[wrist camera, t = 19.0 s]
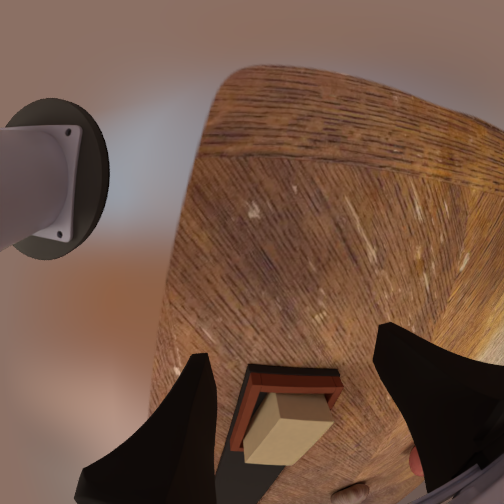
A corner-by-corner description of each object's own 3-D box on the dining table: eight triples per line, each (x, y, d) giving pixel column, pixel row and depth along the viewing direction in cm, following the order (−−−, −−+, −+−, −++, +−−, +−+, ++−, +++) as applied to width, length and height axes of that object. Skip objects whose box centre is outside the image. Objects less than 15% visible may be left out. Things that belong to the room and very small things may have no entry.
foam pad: (242, 431, 24) (244, 463, 20) (273, 383, 22) (280, 418, 18) (286, 436, 25) (292, 465, 21) (322, 390, 23) (334, 422, 19)
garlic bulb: (322, 496, 36) (330, 527, 29) (345, 482, 34) (357, 515, 27) (349, 494, 38) (359, 521, 30) (373, 478, 36) (385, 508, 29)
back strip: (205, 504, 34) (205, 515, 32) (248, 363, 22) (250, 384, 20) (250, 506, 35) (251, 516, 33) (337, 368, 23) (346, 386, 21)
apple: (397, 450, 32) (414, 484, 25) (433, 424, 31) (454, 457, 24) (408, 456, 34) (423, 486, 27) (440, 433, 33) (458, 462, 26)
